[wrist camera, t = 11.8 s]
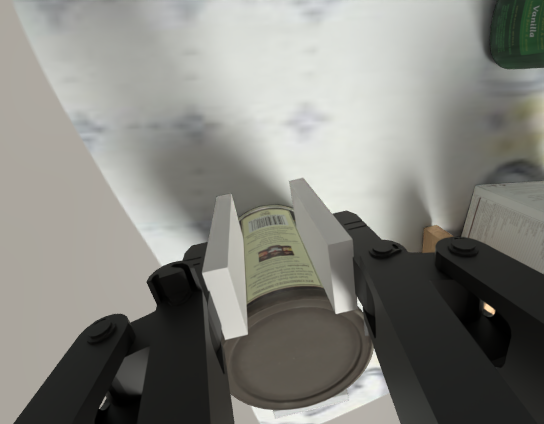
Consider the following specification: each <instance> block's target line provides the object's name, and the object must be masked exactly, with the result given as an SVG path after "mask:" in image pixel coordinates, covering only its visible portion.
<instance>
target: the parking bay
mask: <svg viewBox="0 0 544 424" xmlns="http://www.w3.org/2000/svg"><path fill="white" fill-rule="evenodd" d="M345 401H349V395H348V392H347V389H345V390H344V391H343V392H341V393H339V394H338V395H336V396H334V397H332V398H330V399H328V400H326V401H324V402H321V403H318V404H316V405H313V406H309V407H305V408H299V409H292V410H273V413H274V416H275V418H280V417H284V416H288V415H292V414H296V413H300V412H304V411H308V410H312V409H317V408H321V407H325V406H329V405H333V404H337V403H341V402H345Z"/></svg>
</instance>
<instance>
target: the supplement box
mask: <svg viewBox="0 0 544 424" xmlns="http://www.w3.org/2000/svg"><path fill="white" fill-rule="evenodd" d="M461 237H466V238H471V239H475V240H478V241H480V242H483V243H485V244H487V245H489V246H491V247H493V248H495V249H496V250H498V251H500V252H502V253H504V254H506V255H508V256H510V257H512V258H514V259H516V260H517V261H519V262H521V263H523V264H525V265H527V266H529V267H531V268H533V269H535V270H537V271H538V272H540V273H542V274H544V181H535V182H518V183H501V184H486V185H476V186H475V189H474V193H473V197H472V200H471V204H470V207H469V211H468V214H467V218H466V221H465V225H464V229H463V232H462V236H461Z"/></svg>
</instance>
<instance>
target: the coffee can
mask: <svg viewBox="0 0 544 424" xmlns="http://www.w3.org/2000/svg"><path fill="white" fill-rule="evenodd" d="M238 221H239V224H240V228H241V232H242V236H243V242H244V263H245V284H246V305H247V327H248V335H244V336H239V337H235V338H231V339H227V340H225V337H224V335H223V332H222V329H221V343H222V346H223V349H224V351H225V358H226V365H227V373H228V380H229V387H230V394H231V395H233V396H234V397H235V398H237V399H238V400H240V401H242V402H244V403H246V404H248V405H251V406H254V407H257V408H262V409H269V410H292V409H299V408H305V407H309V406H313V405H316V404H318V403H321V402H324V401H326V400H328V399H330V398H332V397H334V396H336V395H338V394H339V393H341V392H343V391H344V390H345V389H347V388H348V387H349V386H351V385H352V384H353V383H354V382H355V381H356V380H357V379H358V378H359V377H360V376H361V374H362V373H363V372H364V371H365V369H366V367H367V366H368V364H369V362H370V360H371V357H372V354H373V349H374V346H373V343H372V341H371V338H370V335H369V332H368V336H365V331H364V316H363V312H362V310H361V309H360V308H359V307H358V306H357V307H358V309H355V310H351V311H347V312H343V313H338V314H336V313H335V311H334V309H333V307H332V305H331V302H330V300H329V298H328V296H327V294H326V291H325V289H324V287H323V285H322V282H321V280H320V278H319V276H318V274H317V271H316V269H315V267H314V265H313V263H312V260H311V258H310V256H309V254H308V252H307V249H306V247H305V245H304V243H303V240H302V238H301V236H300V234H299V232H298V229H297V227H296V221H295V215H294V209H292V208H290V207H286V206H281V205H267V206H262V207H258V208H255V209H253V210H250V211H248V212H247V213H245V214H243V215H242V216H241V217H240V218H239V219H238Z"/></svg>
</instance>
